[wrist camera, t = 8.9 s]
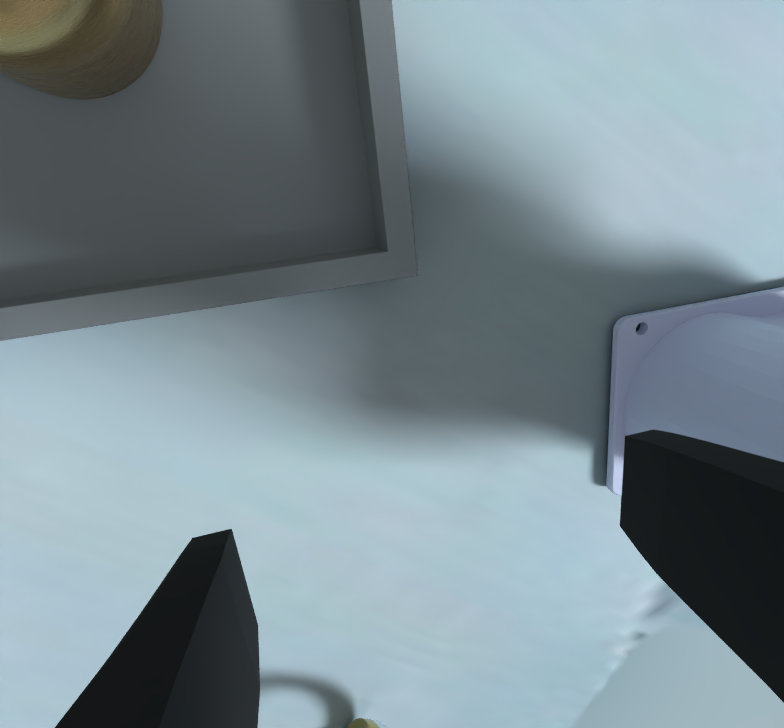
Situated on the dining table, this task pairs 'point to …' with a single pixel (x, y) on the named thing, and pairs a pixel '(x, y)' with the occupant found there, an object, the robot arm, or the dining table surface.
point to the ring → (366, 723)
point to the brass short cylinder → (78, 44)
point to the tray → (210, 170)
